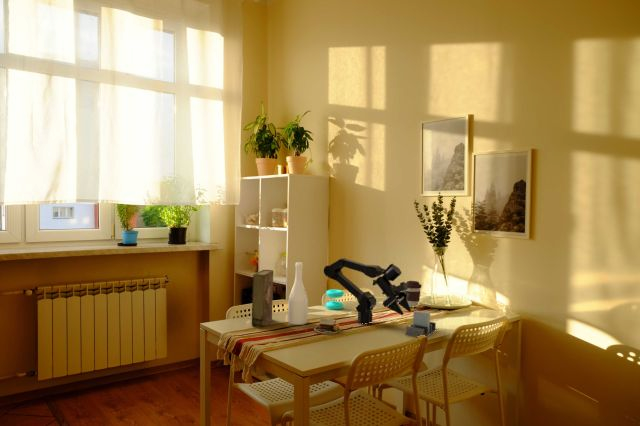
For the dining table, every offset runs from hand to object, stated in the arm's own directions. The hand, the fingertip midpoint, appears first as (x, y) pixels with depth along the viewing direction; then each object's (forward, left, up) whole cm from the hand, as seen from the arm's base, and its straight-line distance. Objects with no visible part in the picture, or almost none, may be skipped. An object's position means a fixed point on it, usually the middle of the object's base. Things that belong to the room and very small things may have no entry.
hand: (406, 312), depth 244 cm
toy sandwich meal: (-37, +10, -9) cm, 40 cm away
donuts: (-13, +54, -9) cm, 56 cm away
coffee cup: (+32, +44, -9) cm, 55 cm away
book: (-61, +34, -9) cm, 71 cm away
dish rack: (+4, -6, -8) cm, 11 cm away
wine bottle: (-45, +28, -9) cm, 54 cm away
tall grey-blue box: (+4, -6, -7) cm, 11 cm away
